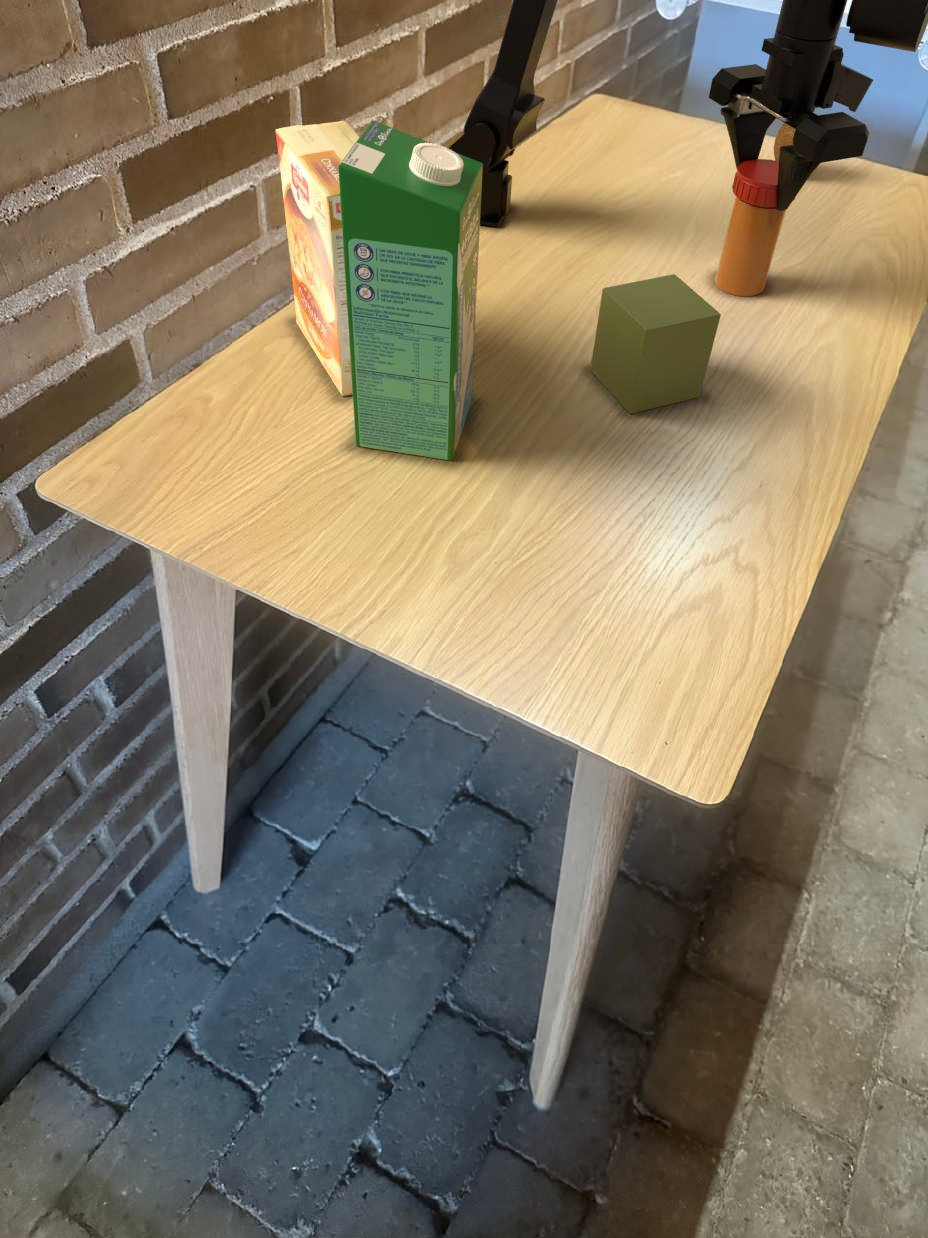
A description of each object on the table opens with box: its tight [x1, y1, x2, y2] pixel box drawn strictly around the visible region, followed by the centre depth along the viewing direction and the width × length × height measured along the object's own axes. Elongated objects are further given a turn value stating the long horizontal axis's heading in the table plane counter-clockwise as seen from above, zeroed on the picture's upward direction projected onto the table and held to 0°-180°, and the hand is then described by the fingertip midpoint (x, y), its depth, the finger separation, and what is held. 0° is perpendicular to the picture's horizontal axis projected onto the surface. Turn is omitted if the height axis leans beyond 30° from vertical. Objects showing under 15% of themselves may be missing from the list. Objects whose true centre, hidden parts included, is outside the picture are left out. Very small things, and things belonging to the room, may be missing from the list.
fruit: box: [773, 122, 795, 161], centre depth 127 cm, size 6×6×8 cm
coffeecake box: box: [274, 120, 360, 397], centre depth 89 cm, size 15×7×20 cm, turn 24°
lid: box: [731, 158, 796, 207], centre depth 100 cm, size 7×7×2 cm
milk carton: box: [338, 119, 483, 462], centre depth 79 cm, size 9×9×25 cm
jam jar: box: [714, 195, 788, 297], centre depth 104 cm, size 6×6×12 cm
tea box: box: [589, 273, 722, 415], centre depth 90 cm, size 8×8×9 cm
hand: (762, 196), depth 101 cm, fingers closed on lid, 6 cm apart
